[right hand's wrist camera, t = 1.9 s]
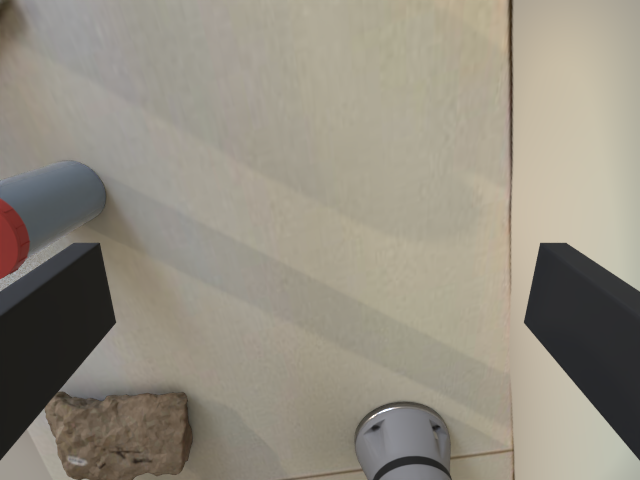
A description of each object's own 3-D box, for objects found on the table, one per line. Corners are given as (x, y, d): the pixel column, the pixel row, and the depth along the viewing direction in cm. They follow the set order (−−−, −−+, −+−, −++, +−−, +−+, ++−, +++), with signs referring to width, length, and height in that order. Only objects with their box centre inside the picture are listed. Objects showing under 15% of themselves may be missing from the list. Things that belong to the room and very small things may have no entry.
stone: (58, 472, 66) (40, 501, 61) (51, 385, 64) (31, 406, 59) (194, 459, 70) (189, 485, 64) (192, 376, 68) (187, 395, 62)
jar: (38, 208, 54) (-77, 260, 38) (47, 150, 51) (-72, 181, 36) (99, 229, 55) (12, 288, 40) (111, 174, 53) (23, 214, 37)
